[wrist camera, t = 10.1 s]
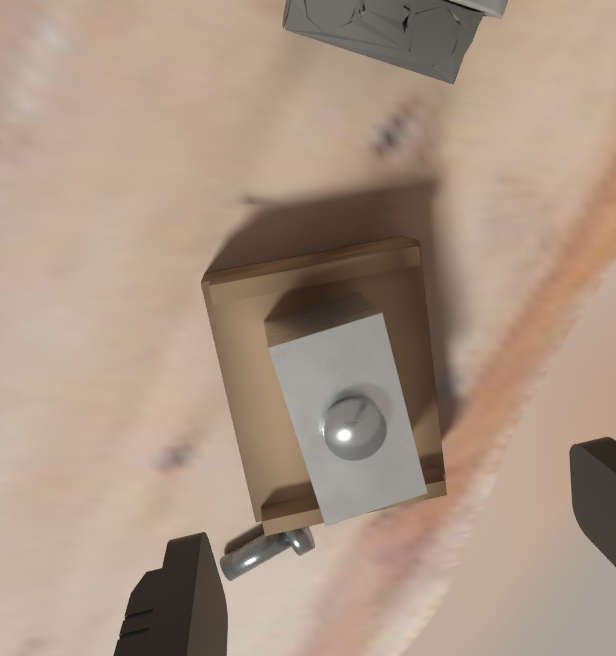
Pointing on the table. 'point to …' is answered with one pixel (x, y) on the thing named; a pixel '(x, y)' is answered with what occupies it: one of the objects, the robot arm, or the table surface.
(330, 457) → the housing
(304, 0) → the electrical switch
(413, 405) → the brown wooden tray
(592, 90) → the table surface
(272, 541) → the bolt
